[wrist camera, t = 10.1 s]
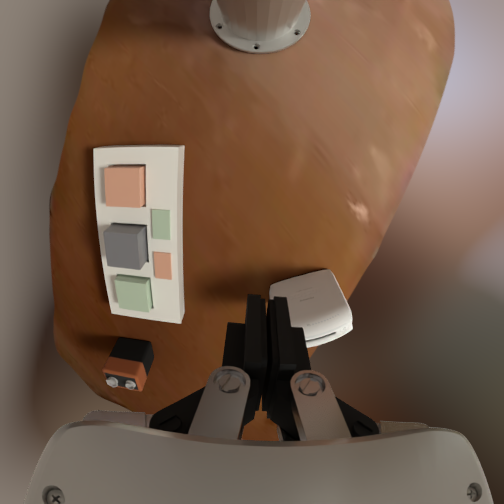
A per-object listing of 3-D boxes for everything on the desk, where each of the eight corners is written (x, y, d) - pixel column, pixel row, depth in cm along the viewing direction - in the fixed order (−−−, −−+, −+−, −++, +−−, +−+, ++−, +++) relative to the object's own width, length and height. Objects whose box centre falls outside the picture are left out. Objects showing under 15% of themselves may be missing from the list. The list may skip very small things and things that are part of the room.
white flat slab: (104, 146, 34) (92, 148, 31) (184, 145, 35) (177, 147, 32) (118, 303, 45) (111, 314, 42) (184, 312, 46) (180, 324, 43)
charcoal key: (113, 223, 36) (103, 231, 34) (145, 225, 37) (137, 234, 34) (116, 256, 39) (107, 266, 36) (147, 259, 39) (140, 270, 36)
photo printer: (332, 264, 42) (356, 314, 30) (337, 287, 43) (359, 341, 32) (265, 281, 43) (268, 337, 32) (273, 304, 45) (277, 361, 33)
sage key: (122, 269, 41) (114, 280, 38) (152, 273, 41) (145, 284, 38) (126, 296, 43) (119, 308, 40) (155, 300, 43) (149, 312, 40)
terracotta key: (115, 164, 34) (104, 168, 31) (148, 164, 35) (139, 168, 32) (116, 199, 36) (106, 206, 34) (148, 201, 37) (140, 207, 34)
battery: (118, 335, 49) (99, 373, 40) (151, 340, 49) (135, 380, 40) (123, 352, 50) (106, 389, 41) (155, 357, 51) (141, 396, 41)
